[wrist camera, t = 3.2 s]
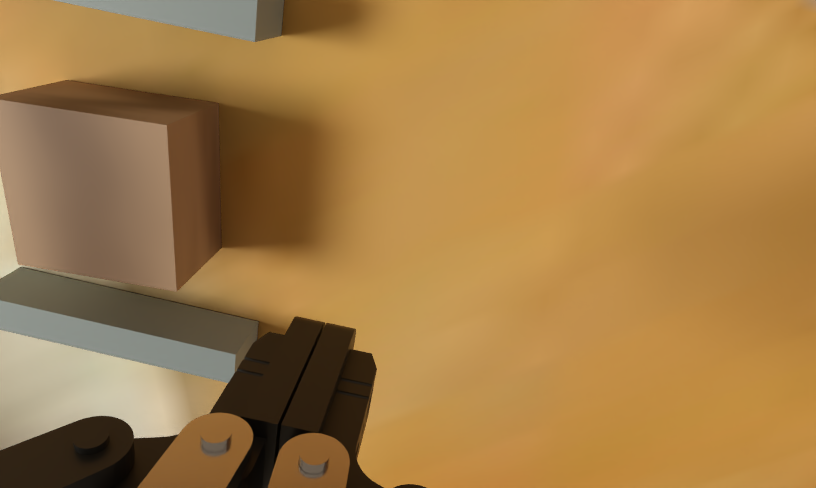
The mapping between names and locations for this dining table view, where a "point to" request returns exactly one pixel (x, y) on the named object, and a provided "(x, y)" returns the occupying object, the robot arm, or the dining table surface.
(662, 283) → the dining table surface
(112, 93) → the walnut block
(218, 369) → the channel
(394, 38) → the dining table surface
